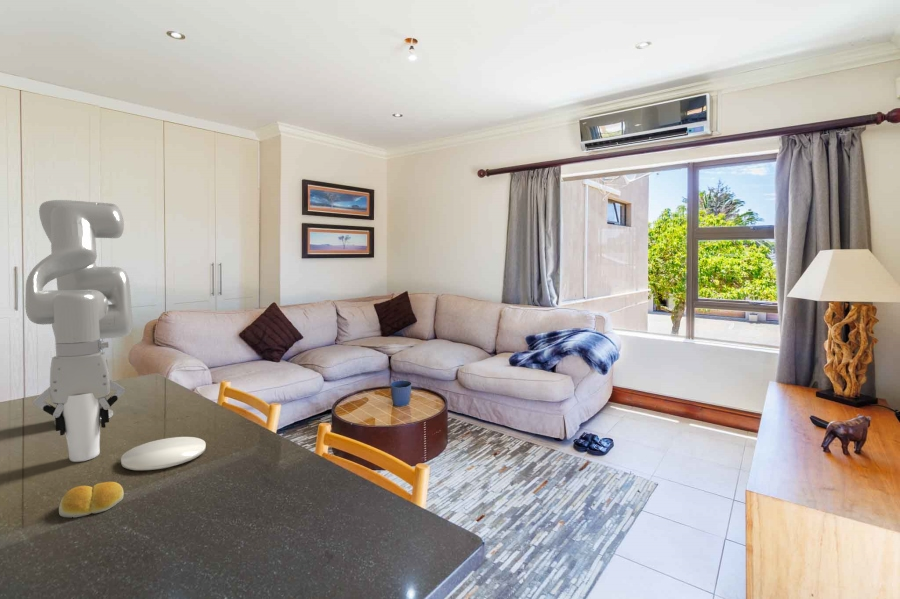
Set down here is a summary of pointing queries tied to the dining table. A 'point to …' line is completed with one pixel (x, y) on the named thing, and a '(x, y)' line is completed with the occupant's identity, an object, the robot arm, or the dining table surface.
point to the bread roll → (90, 499)
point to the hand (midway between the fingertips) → (83, 429)
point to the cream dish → (163, 453)
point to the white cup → (82, 426)
